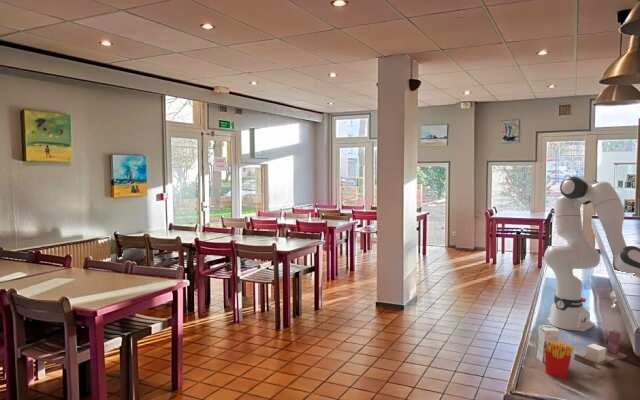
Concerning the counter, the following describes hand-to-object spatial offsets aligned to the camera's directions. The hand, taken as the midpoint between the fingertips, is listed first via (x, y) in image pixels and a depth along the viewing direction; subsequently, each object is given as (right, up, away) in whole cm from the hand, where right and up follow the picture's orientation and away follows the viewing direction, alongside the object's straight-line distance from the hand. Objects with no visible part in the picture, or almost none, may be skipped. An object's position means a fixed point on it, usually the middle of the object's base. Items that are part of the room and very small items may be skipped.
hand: (621, 311), depth 209 cm
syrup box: (-35, -19, -9) cm, 41 cm away
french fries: (-37, -20, -22) cm, 47 cm away
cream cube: (-15, -18, -7) cm, 24 cm away
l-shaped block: (-11, -19, -4) cm, 22 cm away
